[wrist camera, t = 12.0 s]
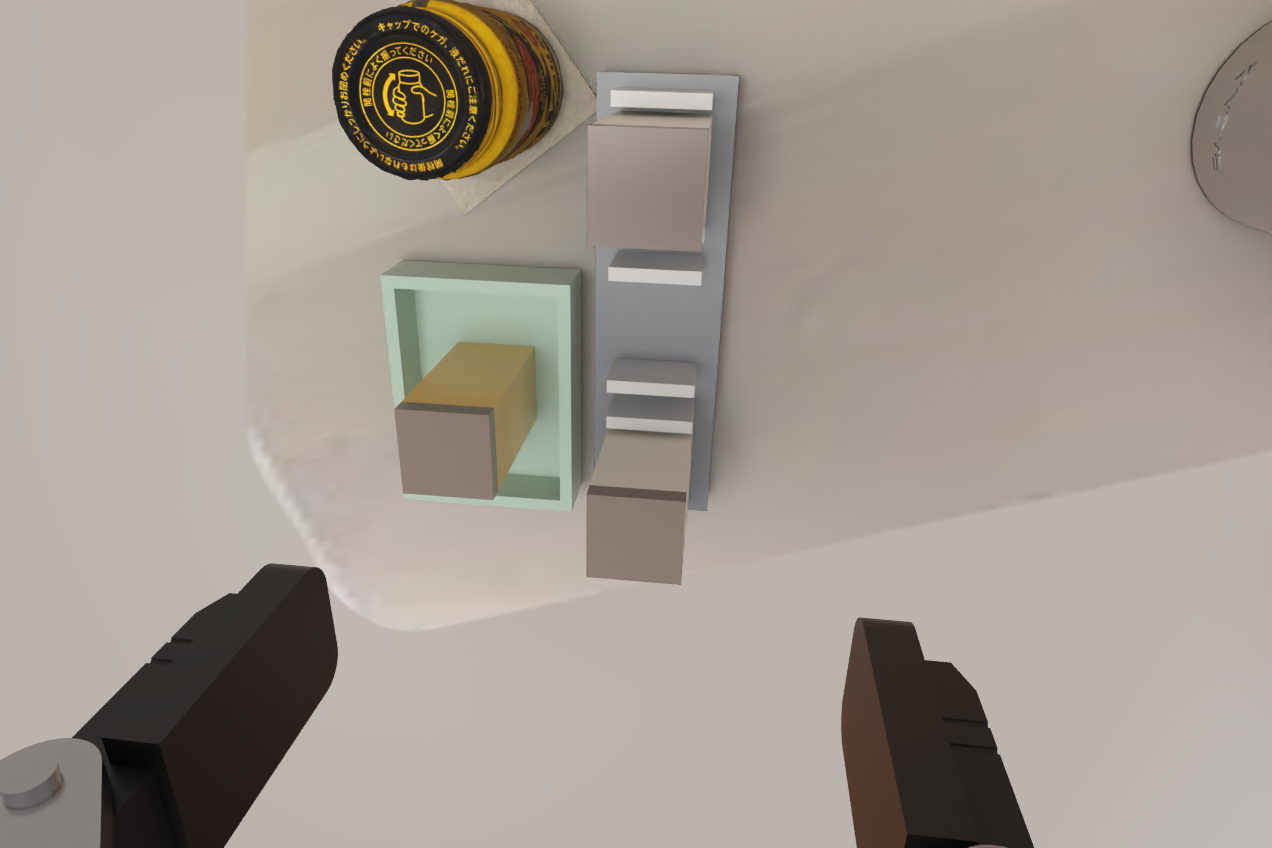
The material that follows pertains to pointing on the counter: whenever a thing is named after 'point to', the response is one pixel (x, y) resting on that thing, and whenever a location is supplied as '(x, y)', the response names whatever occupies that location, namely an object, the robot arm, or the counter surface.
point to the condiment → (457, 92)
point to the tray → (498, 314)
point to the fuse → (467, 421)
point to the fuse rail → (655, 310)
